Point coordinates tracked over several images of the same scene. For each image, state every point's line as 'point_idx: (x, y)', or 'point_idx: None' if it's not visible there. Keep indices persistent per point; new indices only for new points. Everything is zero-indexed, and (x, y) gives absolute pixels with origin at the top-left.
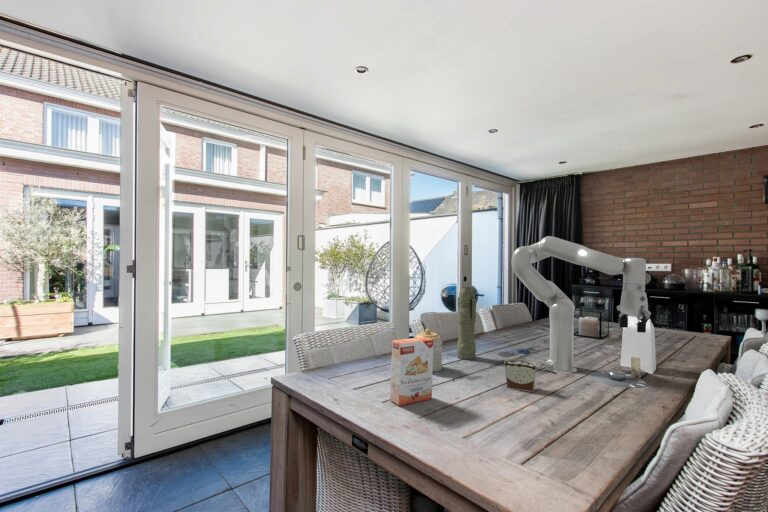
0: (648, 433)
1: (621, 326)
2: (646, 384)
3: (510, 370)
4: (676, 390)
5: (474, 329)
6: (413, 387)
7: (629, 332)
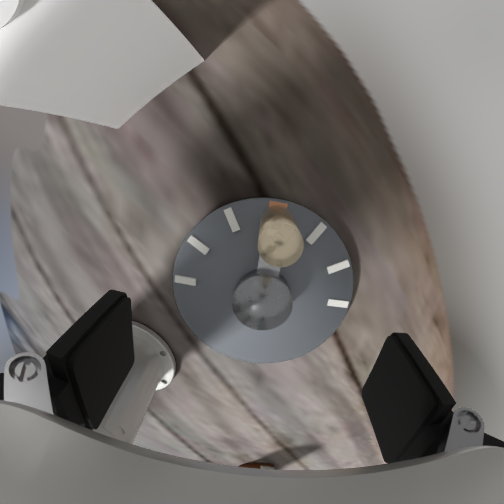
0: (452, 409)
1: (130, 361)
2: (338, 238)
3: None
4: (381, 156)
5: None
6: None
7: (29, 74)
